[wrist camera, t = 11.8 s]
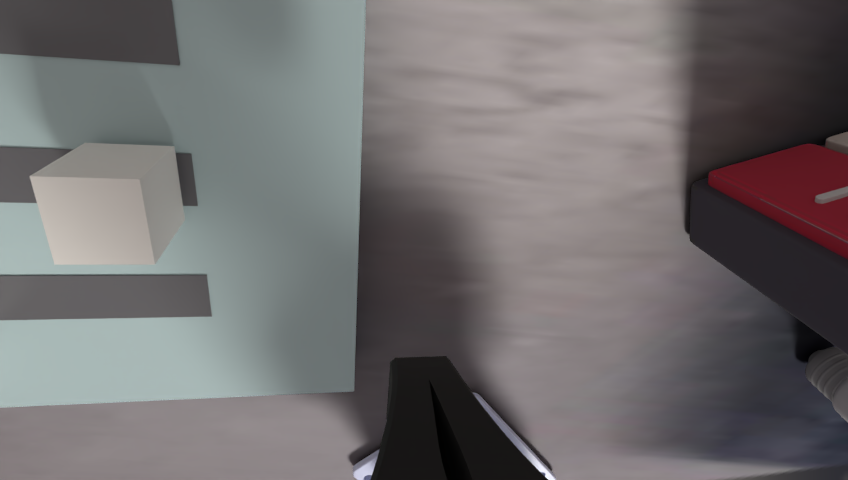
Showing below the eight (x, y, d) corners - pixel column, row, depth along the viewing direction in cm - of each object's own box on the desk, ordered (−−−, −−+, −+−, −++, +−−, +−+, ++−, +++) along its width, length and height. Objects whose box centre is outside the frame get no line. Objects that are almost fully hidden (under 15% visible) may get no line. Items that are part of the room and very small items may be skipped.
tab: (174, 146, 15) (139, 179, 13) (184, 219, 16) (154, 264, 14) (85, 143, 15) (28, 176, 12) (101, 218, 16) (54, 264, 13)
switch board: (363, -26, 16) (366, -28, 14) (353, 360, 23) (354, 392, 21) (-429, -106, 12) (-558, -122, 11) (-155, 378, 20) (-205, 417, 18)
